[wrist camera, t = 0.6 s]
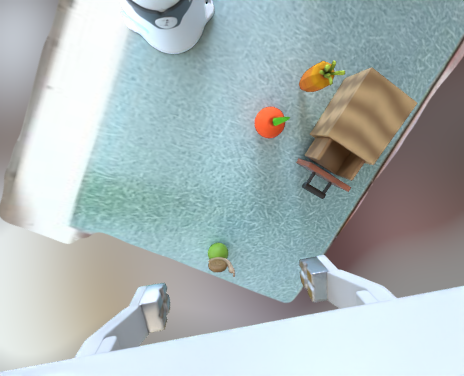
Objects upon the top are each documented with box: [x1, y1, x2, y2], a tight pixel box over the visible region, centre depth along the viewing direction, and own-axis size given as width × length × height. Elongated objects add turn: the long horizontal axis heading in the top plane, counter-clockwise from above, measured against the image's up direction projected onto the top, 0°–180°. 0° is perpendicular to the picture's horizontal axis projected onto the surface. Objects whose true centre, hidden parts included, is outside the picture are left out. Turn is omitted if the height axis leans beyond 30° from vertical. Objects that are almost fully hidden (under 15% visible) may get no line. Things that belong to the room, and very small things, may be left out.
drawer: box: [296, 136, 366, 199], centre depth 52 cm, size 19×12×7 cm, turn 150°
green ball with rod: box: [208, 243, 235, 277], centre depth 55 cm, size 5×6×12 cm
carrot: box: [299, 61, 345, 92], centre depth 44 cm, size 5×5×15 cm
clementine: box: [255, 107, 290, 138], centre depth 49 cm, size 8×7×7 cm
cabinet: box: [310, 67, 417, 165], centre depth 50 cm, size 15×13×9 cm
